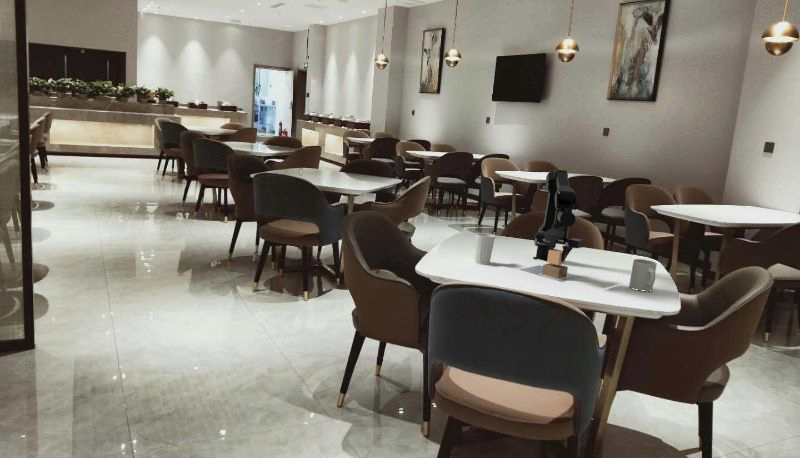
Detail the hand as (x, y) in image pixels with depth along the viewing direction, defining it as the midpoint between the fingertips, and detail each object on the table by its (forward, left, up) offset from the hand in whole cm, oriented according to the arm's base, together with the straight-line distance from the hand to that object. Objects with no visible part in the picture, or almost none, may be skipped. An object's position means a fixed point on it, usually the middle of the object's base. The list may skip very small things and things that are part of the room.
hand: (556, 260), depth 241 cm
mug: (-17, +29, -7) cm, 34 cm away
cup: (+9, -29, -7) cm, 31 cm away
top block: (0, 0, -1) cm, 1 cm away
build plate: (-2, -3, -7) cm, 8 cm away
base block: (0, 0, -6) cm, 6 cm away
